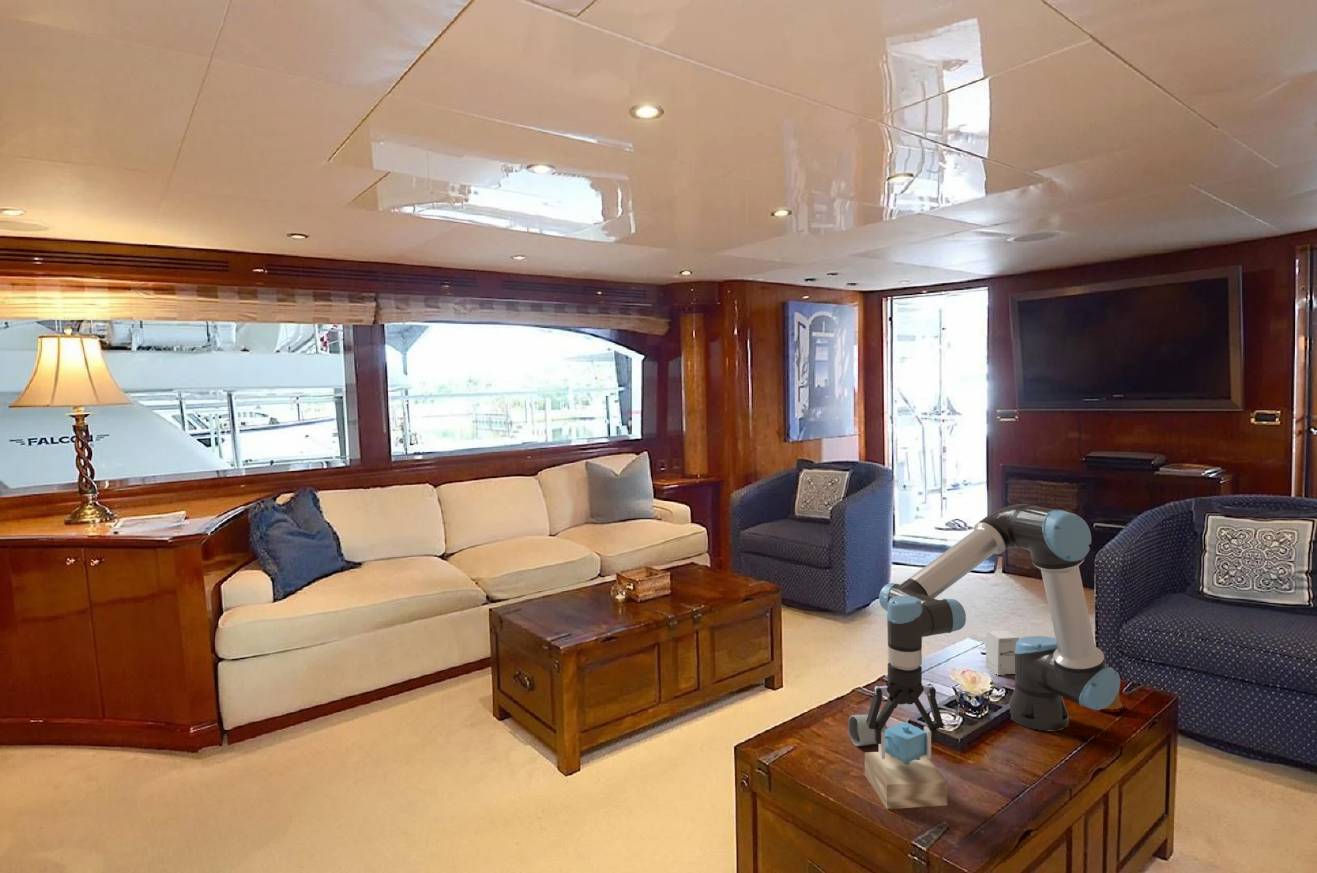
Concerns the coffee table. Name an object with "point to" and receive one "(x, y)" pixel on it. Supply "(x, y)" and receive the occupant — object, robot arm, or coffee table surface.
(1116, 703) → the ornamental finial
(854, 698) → the coffee table surface
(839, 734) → the coffee table surface
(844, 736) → the coffee table surface
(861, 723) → the ceramic mug
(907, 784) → the maple block
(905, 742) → the blue notched cube block
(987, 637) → the supplement box
